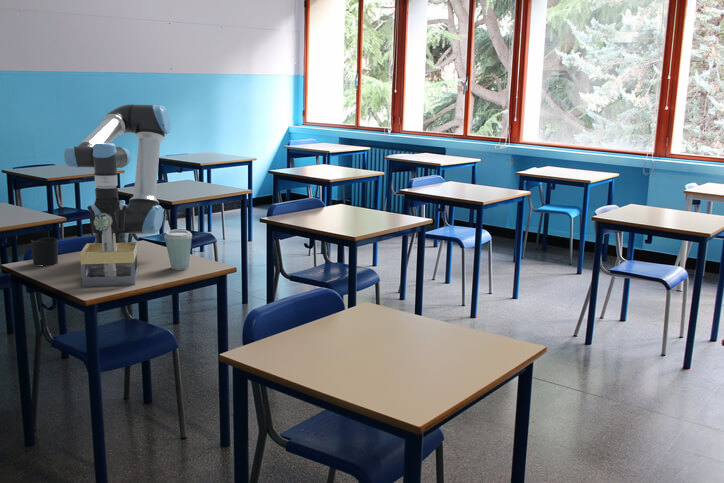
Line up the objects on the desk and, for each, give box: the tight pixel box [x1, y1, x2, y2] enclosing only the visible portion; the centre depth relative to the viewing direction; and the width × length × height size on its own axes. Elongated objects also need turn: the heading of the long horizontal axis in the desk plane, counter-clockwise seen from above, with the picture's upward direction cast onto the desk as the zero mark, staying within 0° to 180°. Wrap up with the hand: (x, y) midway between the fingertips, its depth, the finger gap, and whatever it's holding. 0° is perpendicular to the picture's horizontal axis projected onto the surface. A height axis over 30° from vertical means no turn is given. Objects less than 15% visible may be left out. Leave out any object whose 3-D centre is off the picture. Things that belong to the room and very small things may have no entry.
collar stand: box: [79, 241, 139, 288], centre depth 242 cm, size 18×18×12 cm
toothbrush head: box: [94, 213, 117, 277], centre depth 239 cm, size 5×7×25 cm
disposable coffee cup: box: [163, 229, 193, 271], centre depth 260 cm, size 11×11×15 cm
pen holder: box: [30, 237, 59, 267], centre depth 263 cm, size 9×9×10 cm
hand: (109, 251), depth 241 cm, fingers open, 3 cm apart
